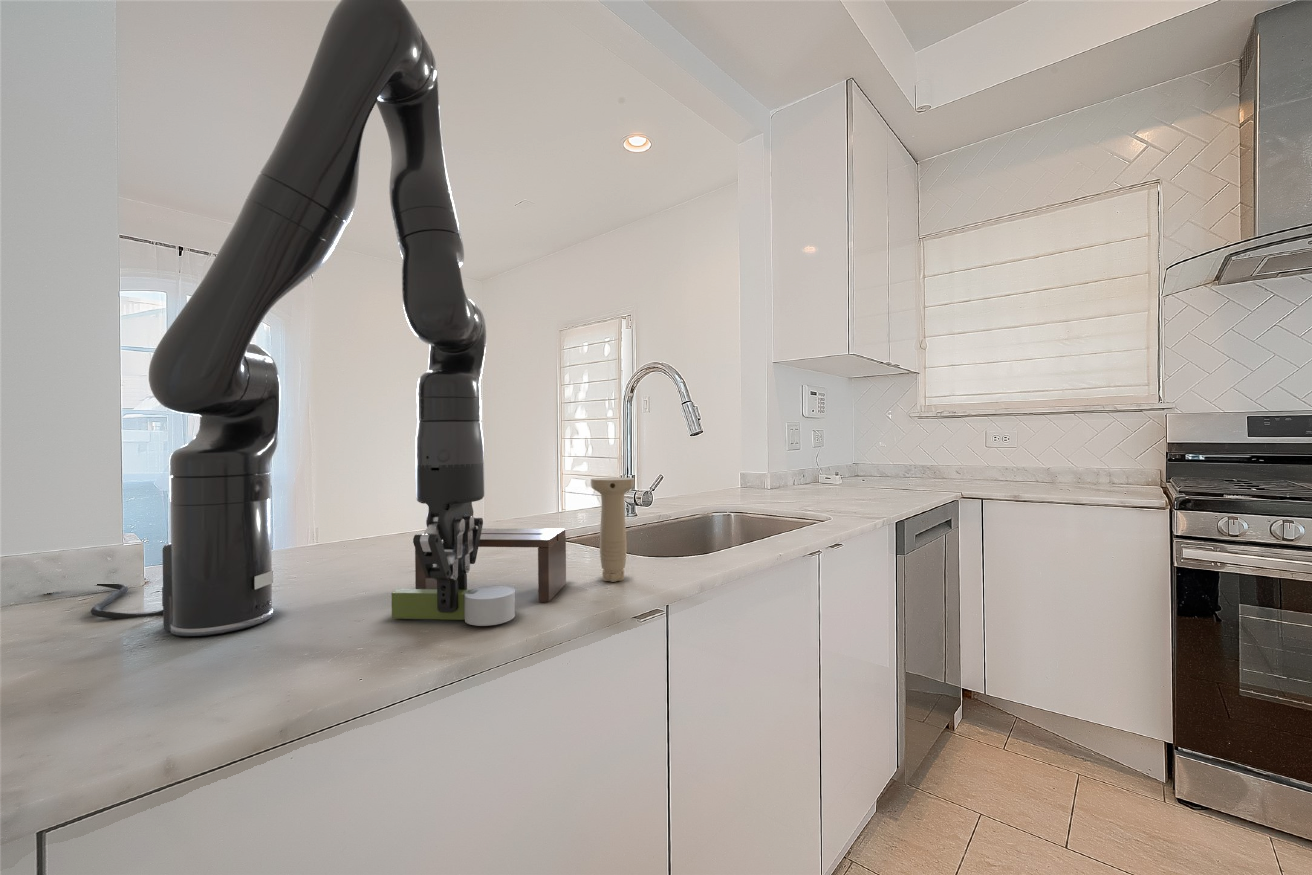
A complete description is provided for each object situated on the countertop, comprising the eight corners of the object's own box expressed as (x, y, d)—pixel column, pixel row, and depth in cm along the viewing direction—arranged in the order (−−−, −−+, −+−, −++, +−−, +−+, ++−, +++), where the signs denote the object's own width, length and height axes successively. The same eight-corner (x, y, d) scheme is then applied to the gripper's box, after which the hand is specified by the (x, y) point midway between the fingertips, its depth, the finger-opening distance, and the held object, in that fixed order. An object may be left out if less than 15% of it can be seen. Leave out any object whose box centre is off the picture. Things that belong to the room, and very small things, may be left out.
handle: (635, 583, 81) (634, 479, 81) (590, 584, 80) (590, 480, 80) (634, 575, 86) (633, 477, 86) (592, 576, 85) (591, 477, 85)
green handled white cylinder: (382, 623, 63) (381, 597, 63) (408, 608, 69) (408, 584, 69) (504, 626, 62) (504, 599, 62) (521, 610, 68) (521, 585, 68)
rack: (415, 599, 74) (414, 539, 74) (446, 581, 83) (446, 527, 83) (548, 602, 72) (548, 540, 72) (566, 583, 81) (565, 528, 81)
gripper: (446, 458, 73) (448, 591, 73) (386, 464, 59) (389, 628, 59) (502, 457, 72) (504, 592, 72) (455, 463, 58) (457, 629, 58)
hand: (452, 607), depth 66 cm, fingers closed on green handled white cylinder, 2 cm apart
